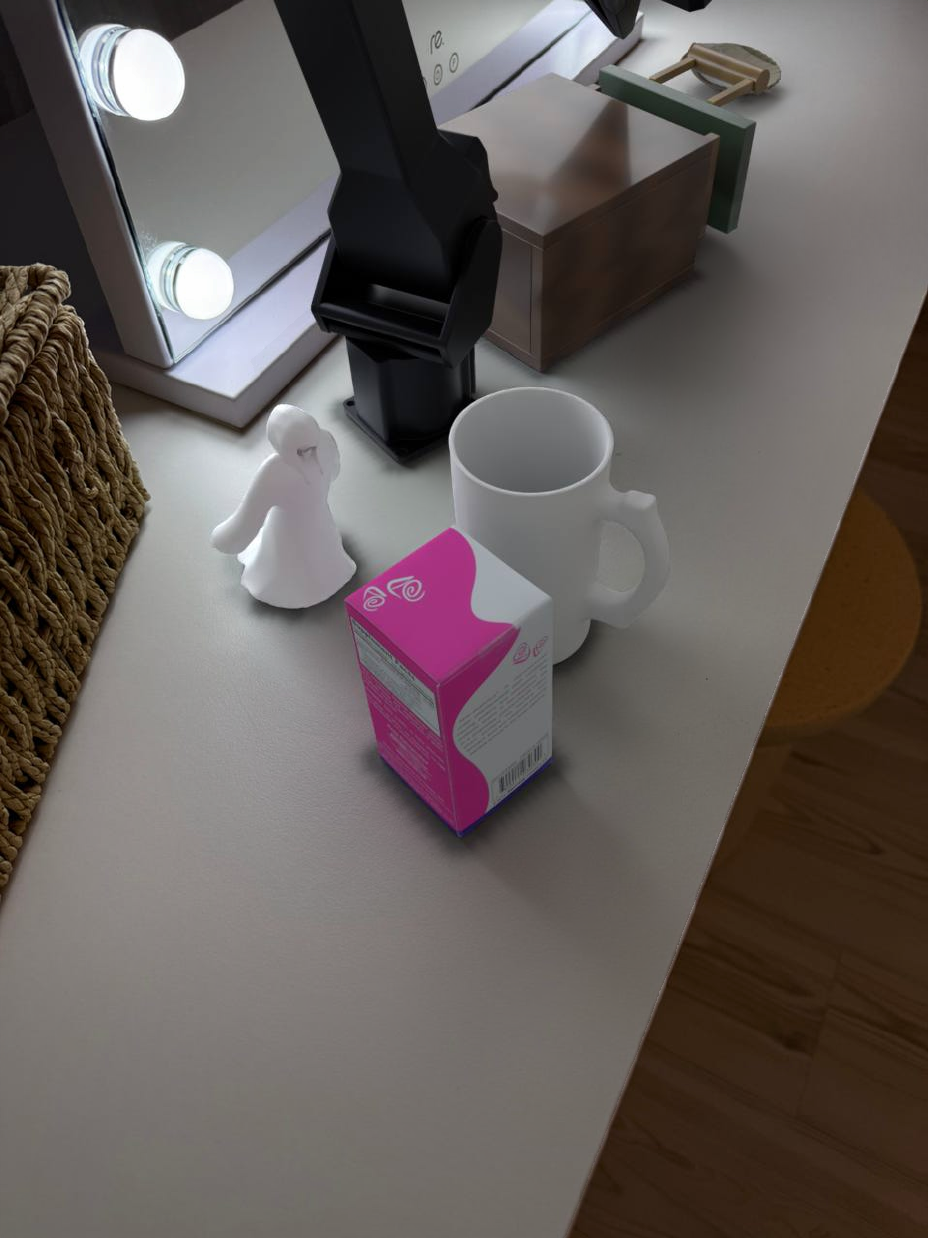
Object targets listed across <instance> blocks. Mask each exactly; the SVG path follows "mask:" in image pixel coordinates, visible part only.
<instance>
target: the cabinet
mask: <svg viewBox="0 0 928 1238" xmlns="http://www.w3.org/2000/svg"><path fill="white" fill-rule="evenodd" d="M436 127H437V128H438V129H443V130H447V131H452V132H457V133H462V134H466V135H471V136H476V137H478V138H479V139H480V140H481V142H482V144H483V146H484V147H485V149H486V151H487V154H488V163H489V172H490V178H491V181H492V184H493V187H494V188H495V190H496V191H497V192H498V199H497V200H496V201H495V202H493V204H494V207H495V209H496V213H497V220H498V223H499V224H500V226H501V229H502V235H503V244H502V253H501V261H500V268H499V275H498V282H497V289H496V297H495V304H494V311H493V318H492V323H491V325H490V327H489V328H488V329H487V330H486V332H485V333H484V334H483V335H482V337H483V338H484V339H485V340H488V341H489V342H491V343H492V344H493V345H495V346H497V347H499V348H500V349H501V350H503V351H505V352H507V353H508V354H510V355H511V356H513V357H515V358H516V359H518V360H520V361H521V362H523V363H525V364H526V365H528V366H529V367H531V368H532V369H534V370H536V371H537V372H539V373H541V372H543V371H545V370H547V369H548V368H549V367H551V366H552V365H554V364H555V363H557V362H559V361H560V360H562V359H564V358H566V357H567V356H568V355H570V354H571V353H573V352H574V351H576V350H578V349H579V348H581V347H583V346H584V345H585V344H587V343H588V342H590V341H592V340H593V339H595V338H596V337H598V336H600V335H601V334H603V333H605V332H606V331H607V330H609V329H611V328H612V327H614V326H615V325H617V324H618V323H620V322H621V321H623V320H625V319H627V318H628V317H630V316H631V315H632V314H634V313H636V312H637V311H639V310H640V309H642V308H643V307H645V306H646V305H649V304H650V303H651V302H653V301H655V300H656V299H658V298H659V297H661V296H662V295H664V294H666V293H667V292H668V291H670V290H671V289H673V288H675V287H676V286H678V285H679V284H681V283H683V282H685V281H686V280H687V279H689V278H690V277H692V276H694V272H695V265H696V260H697V255H698V247H699V242H700V241H699V240H700V237H699V235H700V228H701V222H702V215H703V209H704V202H705V195H706V189H707V182H708V176H709V169H710V163H711V156H712V155H711V154H712V149H713V142H714V140H712V139H710V138H708V137H705V136H703V135H700V134H698V133H696V132H693V131H691V130H689V129H686V128H684V127H681V126H679V125H677V124H674V123H672V122H669V121H667V120H665V119H662V118H660V117H657V116H655V115H653V114H650V113H648V112H646V111H643V110H641V109H638V108H636V107H634V106H631V105H629V104H626V103H624V102H622V101H619V100H617V99H615V98H612V97H610V96H607V95H605V94H603V93H600V92H598V91H595V90H593V89H591V88H588V87H587V86H586V85H584V84H582V83H579V82H576V81H574V80H572V79H570V78H567V77H565V76H562V75H560V74H557V73H555V72H549V73H547V74H545V75H542V76H540V77H539V78H536V79H534V80H532V81H529V82H527V83H526V84H523V85H521V86H519V87H517V88H515V89H513V90H511V91H509V92H507V93H505V94H503V95H501V96H498V97H496V98H493V99H492V100H490V101H488V102H486V103H483V104H481V105H479V106H478V107H475V108H473V109H471V110H469V111H467V112H465V113H463V114H461V115H458V116H457V117H453V118H452V119H450V120H447V121H445V122H444V123H441V124H439V125H436Z"/></svg>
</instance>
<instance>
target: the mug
mask: <svg viewBox="0 0 928 1238" xmlns="http://www.w3.org/2000/svg"><path fill="white" fill-rule="evenodd" d="M613 433H614V432H613V430H612V427H611V425H610V423H609V421H608V420H607V418H606V417H605V416H604V415H603V413H601V411H600V410H598V408H596V407H595V406H594V405H593V404H592V403H590V402H588V401H587V400H585V399H584V398H581V397H579V396H577V395H575V394H572V393H570V392H567V391H564V390H561V389H555V388H550V387H543V386H542V387H541V386H521V387H512V388H505V389H502V390H498V391H495V392H491V393H489V394H486V395H484V396H482V397H481V398H478V399H477V400H476V401H475V402H473V403H472V404H470V405H469V406H468V407H466V408H465V409H464V410H463V411H462V412H461V413H460V414H459V415H458V417H457V418H456V420H455V421H454V423H453V425H452V428H451V431H450V435H449V440H448V449H449V459H450V460H449V461H450V475H451V484H452V485H451V486H452V495H453V496H452V497H453V506H454V507H453V508H454V517H455V525H456V526H458V527H459V528H460V529H461V530H462V531H464V532H465V533H467V534H468V535H469V536H470V537H472V538H473V539H474V540H475V541H477V542H478V543H479V544H481V545H482V546H483V547H484V548H486V549H487V550H488V551H490V552H491V553H492V554H493V555H495V556H496V557H497V558H498V559H500V560H501V561H502V562H504V563H505V564H506V565H508V566H509V567H510V568H512V569H513V570H514V571H516V572H517V573H518V574H520V575H521V576H522V577H524V578H525V579H526V580H528V581H529V582H531V583H532V584H533V585H535V586H536V587H537V588H539V589H540V590H542V591H543V592H544V593H546V594H547V595H549V596H550V597H551V598H552V599H553V666H554V665H557V664H558V663H560V662H563V661H565V660H567V659H568V658H570V657H571V656H572V655H573V654H575V653H576V652H577V651H578V650H579V649H580V648H581V646H582V645H583V643H584V642H585V641H586V640H585V639H586V638H587V636H588V635H589V631H590V627H591V621H592V620H595V621H598V622H602V623H605V624H607V625H610V626H612V627H614V628H616V629H619V630H625V629H628V628H629V627H630V626H632V624H634V623H635V621H636V620H638V618H639V617H640V616H641V615H642V614H643V613H644V612H645V611H646V610H647V609H648V608H649V607H650V606H651V605H652V604H653V603H654V602H655V601H656V600H657V598H658V597H659V596H660V594H661V593H662V591H663V589H664V588H665V586H666V583H667V581H668V578H669V575H670V569H671V552H670V551H671V550H670V546H669V542H668V539H667V535H666V532H665V529H664V526H663V523H662V521H661V519H660V516H659V513H658V510H657V498H656V495H655V494H654V495H653V494H650V493H645V492H641V491H638V490H634V489H630V490H628V491H627V492H621V491H618V490H617V489H616V488H614V487H613V486H612V485H611V482H610V475H611V467H612V466H611V465H612V457H613V453H614V448H615V447H614V446H615V440H614V439H615V438H614V434H613ZM605 521H607V522H612V523H615V524H618V525H620V526H621V527H623V528H625V529H626V530H627V531H629V532H630V533H631V535H632V536H633V537H634V538H635V540H636V541H637V542H638V544H639V547H640V549H641V551H642V553H643V559H644V569H643V574H642V576H641V579H640V581H639V583H638V584H637V585H636V586H635V587H634V588H632V589H630V590H626V591H616V590H615V589H614V590H613V589H611V588H609V587H607V586H604V585H603V584H601V582H600V581H599V580H598V569H599V561H600V554H601V544H602V539H603V538H602V537H603V530H604V522H605Z"/></svg>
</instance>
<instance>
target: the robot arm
mask: <svg viewBox="0 0 928 1238" xmlns="http://www.w3.org/2000/svg"><path fill="white" fill-rule="evenodd" d="M272 1H273V3H274V6H275V8H276V11H277V14H278V15H279V18H280V21H281V23H282V26H283V28H284V32H285V33H286V36H287V38H288V41H289V43H290V46H291V48H292V51H293V53H294V56H295V59H296V62H297V63H298V66H299V69H300V71H301V73H302V76H303V78H304V81H305V84H306V86H307V88H308V91H309V94H310V96H311V99H312V101H313V103H314V106H315V109H316V111H317V115H319V119H320V121H321V123H322V127H323V128H324V131H325V133H326V136H327V139H328V141H329V143H330V147H331V148H332V151H333V154H334V156H335V158H336V161H337V164H338V169H339V174H338V178H337V180H336V182H335V186H334V189H333V192H332V194H331V198H330V200H329V203H328V206H327V209H326V215H327V218H328V222H329V225H330V226H329V227H330V229H331V232H330V236H329V238H328V242H327V246H326V249H325V250H326V251H325V254H324V256H323V257H324V258H323V261H322V264H321V268H320V272H319V274H318V279H317V282H316V285H315V289H314V292H313V295H312V296H313V297H312V300H311V304H310V311H311V314H312V316H313V318H314V320H315V322H316V324H317V326H318V327H319V330H320V331H321V332H323V333H327V334H332V333H334V334H337V335H341V336H343V337H344V338H345V347H346V353H347V358H348V364H349V365H348V367H349V372H350V379H351V385H352V392H353V395H352V396H351V397H349V398H346V399H345V400H344V401H343V402H342V409H343V412H344V413H345V414H346V415H347V416H348V417H349V418H350V419H351V420H352V421H353V422H355V424H357V425H358V426H359V428H361V429H362V430H363V431H364V432H365V433H366V434H367V435H368V436H369V437H370V438H371V439H373V440H374V441H375V442H376V444H378V445H379V446H380V448H382V449H383V450H384V451H385V452H386V453H387V454H388V455H390V456H391V458H392V459H394V461H396V462H398V463H402V464H403V463H404V464H405V463H408V462H410V461H412V460H414V459H416V458H418V457H420V456H421V455H423V454H425V453H427V452H429V451H431V450H433V449H435V448H437V447H439V446H441V445H442V444H445V443H447V442H449V435H450V431H451V428H452V425H453V423H454V421H455V420H456V418H457V417H458V415H459V414H460V413H461V412H462V411H463V410H464V409H465V408H466V407H468V406H469V405H470V404H472V403H473V402H475V401H477V400H476V399H475V398H474V397H473V396H472V395H474V394H476V391H477V374H476V373H477V371H476V352H475V351H476V347H475V346H476V345H477V343H478V342H479V341H480V339H481V338H482V337H483V336H482V335H483V334H484V333H485V332H486V330H487V329H488V328H489V327H490V325H491V323H492V318H493V311H494V304H495V297H496V289H497V282H498V275H499V268H500V261H501V253H502V244H503V235H502V229H501V226H500V224H499V223H498V220H497V213H496V209H495V207H494V204H493V202H495V201H496V200H497V199H498V192H497V191H496V190H495V188H494V187H493V184H492V181H491V178H490V172H489V163H488V154H487V151H486V149H485V147H484V146H483V144H482V142H481V140H480V139H479V138H478V137H476V136H471V135H466V134H462V133H457V132H452V131H447V130H443V129H438V128H437V123H436V120H435V117H434V113H433V110H432V105H431V102H430V98H429V95H428V90H427V87H426V83H425V79H424V76H423V73H422V69H421V66H420V62H419V61H420V60H419V58H418V54H417V50H416V47H415V44H414V39H413V35H412V33H411V29H410V25H409V20H408V17H407V14H406V11H405V7H404V2H403V0H272ZM582 1H583V2H584V3H585V4H586V5H587V6H588V8H589V9H590V10H591V11H592V13H594V15H595V16H596V17H597V18H598V20H600V22H601V23H602V24H603V26H605V27H606V29H607V30H608V31H609V32H610V33H611V34H612V35H613V36H614V37H616V38H618V39H620V40H622V41H623V40H624V41H625V39H627V38H628V36H630V34H631V33H632V32H633V31H634V28H635V25H636V21H637V17H638V13H639V9H640V5H641V1H642V0H582ZM660 1H661V2H664V3H666V4H668V5H671V6H673V7H676V8H678V9H681V10H683V11H684V12H687V13H694V12H697V11H701V10H705V9H706V8H707V7H708V6H709V4H710V3H711V2H712V1H713V0H660Z"/></svg>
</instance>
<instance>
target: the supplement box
mask: <svg viewBox="0 0 928 1238" xmlns="http://www.w3.org/2000/svg"><path fill="white" fill-rule="evenodd" d="M344 606H345V610H346V615H347V619H348V623H349V628H350V632H351V635H352V641H353V645H354V649H355V654H356V658H357V662H358V666H359V671H360V675H361V679H362V683H363V689H364V692H365V696H366V701H367V705H368V709H369V713H370V718H371V723H372V728H373V730H374V731H373V732H374V736H375V740H376V746H377V749H378V753H379V757H380V759H381V760H382V761H383V763H385V764H386V765H387V766H388V767H389V768H390V769H391V771H393V773H395V774H396V776H397V777H398V778H400V779H401V780H402V782H403V783H404V784H405V785H407V787H408V788H409V789H410V790H411V791H412V792H413V793H414V795H416V796H417V797H418V798H419V799H420V800H421V801H422V802H423V803H424V804H425V805H426V806H427V807H428V808H429V810H431V811H432V812H433V813H434V814H435V815H436V816H437V817H438V818H439V819H440V820H441V821H442V822H443V823H444V824H445V825H446V826H447V827H448V828H449V829H450V830H451V831H452V832H453V833H454V834H455V835H457V837H459V838H462V837H464V836H465V835H467V834H468V833H470V832H471V831H473V829H474V828H476V827H477V826H478V825H479V824H481V823H482V822H483V821H485V819H486V818H488V817H489V816H490V815H492V814H493V813H494V812H495V811H496V810H498V809H499V808H500V807H501V806H503V805H504V804H505V803H506V802H507V801H508V800H510V798H512V797H513V796H514V795H516V794H517V793H518V792H519V791H520V790H522V789H523V788H524V787H525V786H526V785H527V784H529V783H530V782H531V781H532V780H533V779H534V778H536V777H537V776H538V775H539V774H540V773H542V772H543V771H544V770H545V769H547V768H548V767H549V766H550V765H551V764H552V763H553V757H552V756H553V666H554V665H553V599H552V598H551V597H550V596H549V595H547V594H546V593H544V592H543V591H542V590H540V589H539V588H537V587H536V586H535V585H533V584H532V583H531V582H529V581H528V580H526V579H525V578H524V577H522V576H521V575H520V574H518V573H517V572H516V571H514V570H513V569H512V568H510V567H509V566H508V565H506V564H505V563H504V562H502V561H501V560H500V559H498V558H497V557H496V556H495V555H493V554H492V553H491V552H490V551H488V550H487V549H486V548H484V547H483V546H482V545H481V544H479V543H478V542H477V541H475V540H474V539H473V538H472V537H470V536H469V535H468V534H467V533H465V532H464V531H462V530H461V529H460V528H459V527H458V526H456V524H452V525H451V526H450V527H448V528H447V529H445V530H444V531H442V532H441V533H439V534H438V535H437V536H435V537H434V538H432V539H430V540H429V541H427V542H426V543H425V544H423V545H421V546H420V547H419V548H417V549H416V550H414V551H413V552H411V553H410V554H408V555H407V556H405V557H404V558H403V559H401V560H399V561H398V562H396V563H395V564H394V565H392V566H391V567H389V568H388V569H386V570H385V571H384V572H383V573H381V574H379V575H378V576H376V577H375V578H373V579H371V580H370V581H369V582H367V583H366V584H364V585H362V586H361V587H360V588H358V589H356V590H355V591H354V592H352V593H351V594H350V595H348V596H347V597H345V598H344Z"/></svg>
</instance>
